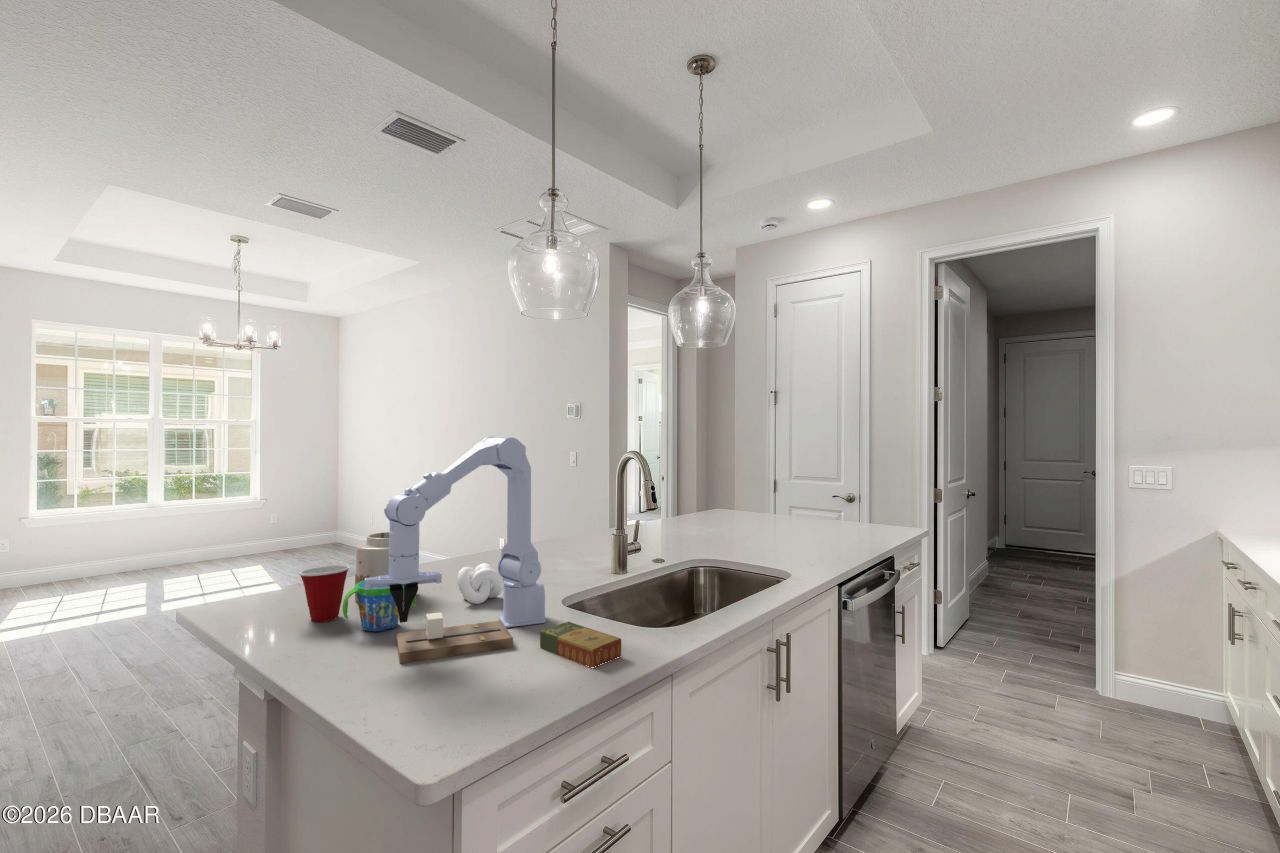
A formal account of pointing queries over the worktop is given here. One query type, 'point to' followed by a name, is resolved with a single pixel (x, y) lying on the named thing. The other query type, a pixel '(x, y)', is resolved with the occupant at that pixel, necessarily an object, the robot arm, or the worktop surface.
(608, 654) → the carton
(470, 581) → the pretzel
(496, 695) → the worktop surface
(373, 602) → the snack cup
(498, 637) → the fader console
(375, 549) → the vase
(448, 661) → the worktop surface
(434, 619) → the fader tab
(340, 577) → the plastic cup
